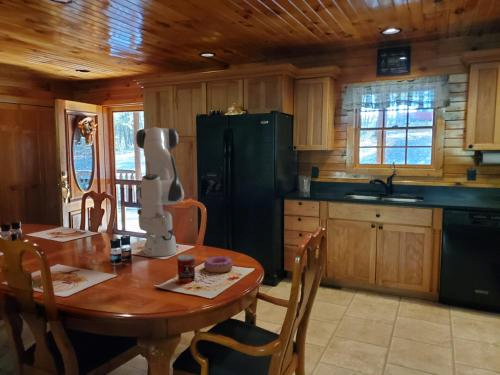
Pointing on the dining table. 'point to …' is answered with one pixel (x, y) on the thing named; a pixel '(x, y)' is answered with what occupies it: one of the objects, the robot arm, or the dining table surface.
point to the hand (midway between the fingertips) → (153, 242)
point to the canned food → (186, 268)
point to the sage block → (152, 241)
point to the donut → (218, 264)
